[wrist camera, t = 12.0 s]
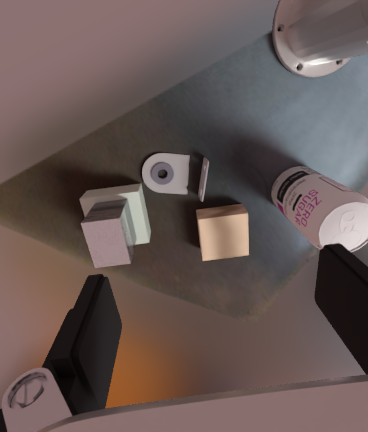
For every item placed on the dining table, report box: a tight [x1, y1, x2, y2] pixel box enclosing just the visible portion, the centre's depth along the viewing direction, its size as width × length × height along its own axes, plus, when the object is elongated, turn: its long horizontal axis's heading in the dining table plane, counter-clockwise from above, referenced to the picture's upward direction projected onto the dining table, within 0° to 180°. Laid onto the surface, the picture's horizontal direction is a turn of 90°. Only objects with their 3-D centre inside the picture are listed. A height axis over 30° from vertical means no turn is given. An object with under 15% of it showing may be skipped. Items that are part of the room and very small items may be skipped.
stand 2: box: [196, 204, 249, 261], centre depth 45 cm, size 8×8×4 cm
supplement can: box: [271, 166, 368, 252], centre depth 38 cm, size 8×8×15 cm
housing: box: [81, 199, 137, 268], centre depth 38 cm, size 7×5×7 cm
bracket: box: [142, 153, 209, 202], centre depth 41 cm, size 7×10×4 cm, turn 83°
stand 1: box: [79, 183, 151, 244], centre depth 43 cm, size 9×9×4 cm
